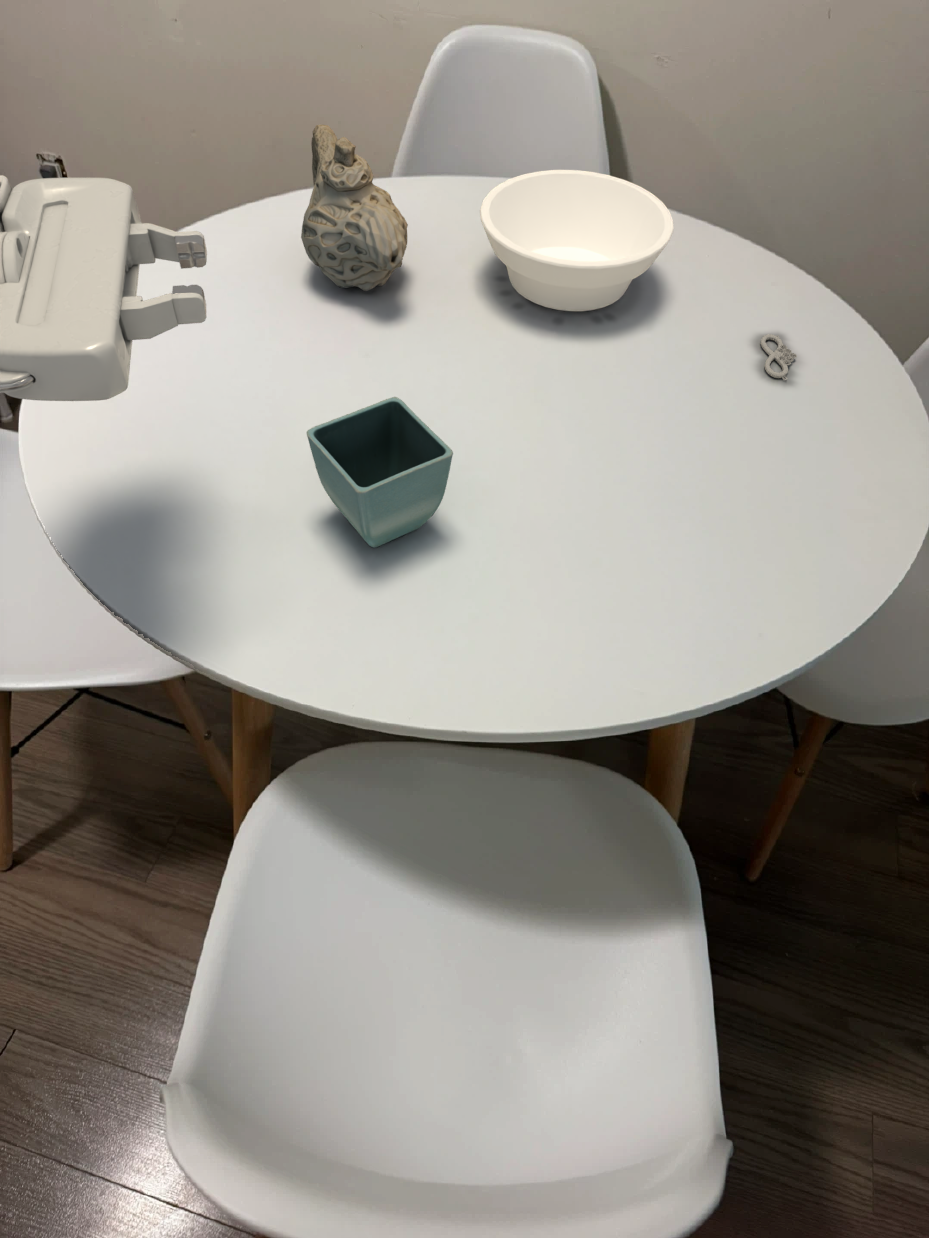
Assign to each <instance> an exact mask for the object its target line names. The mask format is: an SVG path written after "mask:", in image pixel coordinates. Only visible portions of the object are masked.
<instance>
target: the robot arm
mask: <svg viewBox="0 0 929 1238" xmlns="http://www.w3.org/2000/svg"><path fill="white" fill-rule="evenodd" d="M206 245H207V244H206V239H205V235H204V234H203V233H202V232H201V231H198V230H191V231H190V230H189V231H175V230H172V229H170V228H166V227H164V226H160V225H156V224H153V223H151V222H142V219H141V213H140V210H139V206H138V203H137V199H136V195H135V192H134V189H133V187H132V186H131V185H130V184H128V183H125V182H123V181H121V180H117V179H114V178H109V177H45V178H34V179H28V180H25V181H22V182H20V183H18V184H16V185H14V187H12V185H11V183H10V181H9V179H8V177H6V176H5V175H3V174H0V394H5V395H7V396H9V397H11V398H15V399H19V400H26V401H27V400H28V401H44V402H45V401H46V402H92V401H93V402H94V401H95V402H97V401H107V400H110V399H111V398H114V397H116V396H118V395H121V394H122V393H124V392H125V391H127V389H128V386H129V381H130V369H131V359H132V349H133V348H132V347H133V341H138V340H140V341H141V340H151V339H153V338H155V337H157V336H159V335H161V334H163V333H166V332H168V331H170V330H172V329H174V328H177V327H178V326H179V325H191V324H202V323H204V322H205V321H206V320H207V302H206V296H205V291H204V289H203V287H202V286H200V285H199V284H190V285H188V286H187V285H184V284H181V285H172V291H171V292H169V293H166V294H162V295H159V296H156V297H152V298H149V299H148V298H147V299H145V300H144V299H143V296H141V295H138V285H139V275H140V265H149V264H155V263H156V259H158V260H161V261H169V262H174V263H179V266H180V269H193V268H203V267H205V266H206V265H207V263H208V261H207V260H208V251H207V246H206Z"/></svg>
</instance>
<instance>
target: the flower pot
mask: <svg viewBox="0 0 929 1238" xmlns="http://www.w3.org/2000/svg"><path fill="white" fill-rule="evenodd" d="M306 437H307V441H308V444H309V448H310V451H311V456H312V459H313V462H314V465H315V469H316V472H317V476H318V479H319V481H320V483H321V486H322V487H323V489H324V492H325V493H326V494H327V496H328V497H329V499H330V500H331V502H332V503H333V505H335V507H336V508H337V509H338V510H339V512H340V513H341V514H342V515H343V516H344V517H345V518H346V520H347V521H348V522H349V524H350V525H351V526H352V527H353V528H354V529H355V530H356V532H357V533H358V534H359V536H360V537H361V538H362V539H363V540H364V542H365V543H366V544H367V545H368V546H370V547H371V548H379V547H381V546H383V545H385V544H387V543H390V542H391V541H394V540H395V539H397V538H401V537H402V536H405V535H407V534H409V533H411V532H414V531H416V530H418V529H420V528H421V527H423V525H424V524H426V523H427V522H428V521H429V520H430V519H431V518H432V516H433V515H434V514H435V513H436V512H437V510H438V509H439V507H440V505H441V503H442V501H443V499H444V496H445V492H446V489H447V486H448V485H447V484H448V479H449V475H450V470H451V465H452V460H453V455H454V451H453V450H452V449H451V447H450V446H448V444H447V443H445V441H443V439H441V438H440V437H439V435H438V434H436V433H435V432H434V431H433V430H432V429H431V428H430V427H429V426H428V425H427V424H426V423H425V422H424V421H422V420H421V418H420V417H419V416H417V414H416V413H415V412H414V411H413V410H412V409H411V408H410V407H409V406H408V405H407V403H406V402H405V401H403V399H401V398H399V397H397V396H392V397H389V398H386V399H383V400H381V401H378V402H376V403H373V404H371V405H368V406H366V407H363V408H360V409H357V410H355V411H352V412H349V413H347V414H344V415H341V416H340V417H339V416H338V417H336V418H333V419H331V420H329V421H325V422H323V423H320V424H318V425H315V426H313V427H311V428H309V429H307V431H306Z"/></svg>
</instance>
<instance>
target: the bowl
mask: <svg viewBox="0 0 929 1238" xmlns="http://www.w3.org/2000/svg"><path fill="white" fill-rule="evenodd" d="M479 216H480V222H481V224H482V226H483V227H482V228H483V229H484V232H485V234H486V237H487V240H488V242H489V245H490V246H491V249H492V251H493V252H494V255H495V256H496V257H497V258H498V259H499V260H500V261H501V262H502V263H503V265H505V266H506V271H507V275H508V278H509V281H510V284H511V286H512V288H514V290H515V291H516V292H517V293H518V294H519V295H521V296H522V297H523V298H525V299H526V300H528V301H530V302H532V303H534V304H536V305H539V306H542V307H544V308H548V309H553V310H558V311H565V312H587V311H594V310H599V309H602V308H605V307H608V306H610V305H613V304H614V303H616V302H617V301H618V300H620V299H621V298H622V297H623V296H624V295H625V294H626V291H627V290H628V288H629V286H630V284H631V283H632V281H633V280H634V279H637V278H638V277H640V276H641V275H642V274H644V273H645V272H646V271H648V269H649V268H650V267H651V266H652V265H653V264H654V263H655V262H656V260H657V259H658V257H659V256H660V254H661V253H662V252H663V250H664V249H665V248H666V247H667V245H668V244H669V243H670V241H671V239H672V237H673V234H674V220H673V217H672V214H671V211H670V210H669V208H667V206H666V205H665V203H664V202H663V201H662V200H661V199H660V198H658V197H657V196H656V195H654V194H653V193H651V191H649V190H647V189H645V188H644V187H642V186H640V185H638V184H635V183H633V182H631V181H628V180H627V179H623V178H621V177H620V178H619V177H616V176H613V175H609V174H605V173H601V172H600V173H599V172H596V171H588V170H579V169H578V170H577V169H550V170H548V169H547V170H537V171H533V172H527V173H524V174H520V175H518V176H514V177H511V178H509V179H507V180H504V181H503V182H501V183H499V184H497V185H496V186H495V187H494V188H492V189H491V190H490V191H489V192H488V193H487V195H486V196H485V197H484V198H483V200H482V203H481V206H480V209H479Z"/></svg>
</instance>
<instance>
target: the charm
mask: <svg viewBox="0 0 929 1238" xmlns="http://www.w3.org/2000/svg"><path fill="white" fill-rule="evenodd" d="M768 340H771V341H774V342H775V343H776V344H777V348H776V349H775V350H772V349H771V348H770V347H769V346H768V344H767V343H766V342H767V341H768ZM760 346H761V348H762V349H763V351H764V352H765V353H766V354H767V355H768V357H767V359H766V360H765V363H764V369H765V372H766V373H767V374H768V375H769V376H771V377H773V378H775V379H781V378H782V380H783V381H787V380H788V377H787V374H788V372H789V367H788V366H791V364H792V362H794V359H796V358H797V357H798V355H797V353H794V352H793V351H792V349H789V348H788V346H787V345H785V344H784V343H783V340H782V339H781V338H780V336H779V335H777V334H776V335H775V334H771V333H768V334H765V335H763V336H762V337H761V338H760ZM773 361H776V362H777V363H778V365H780V367H781V368H782V369H781V371H779V372H776V371H774V370H773V369H772V368H771V364H772V362H773Z"/></svg>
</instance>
